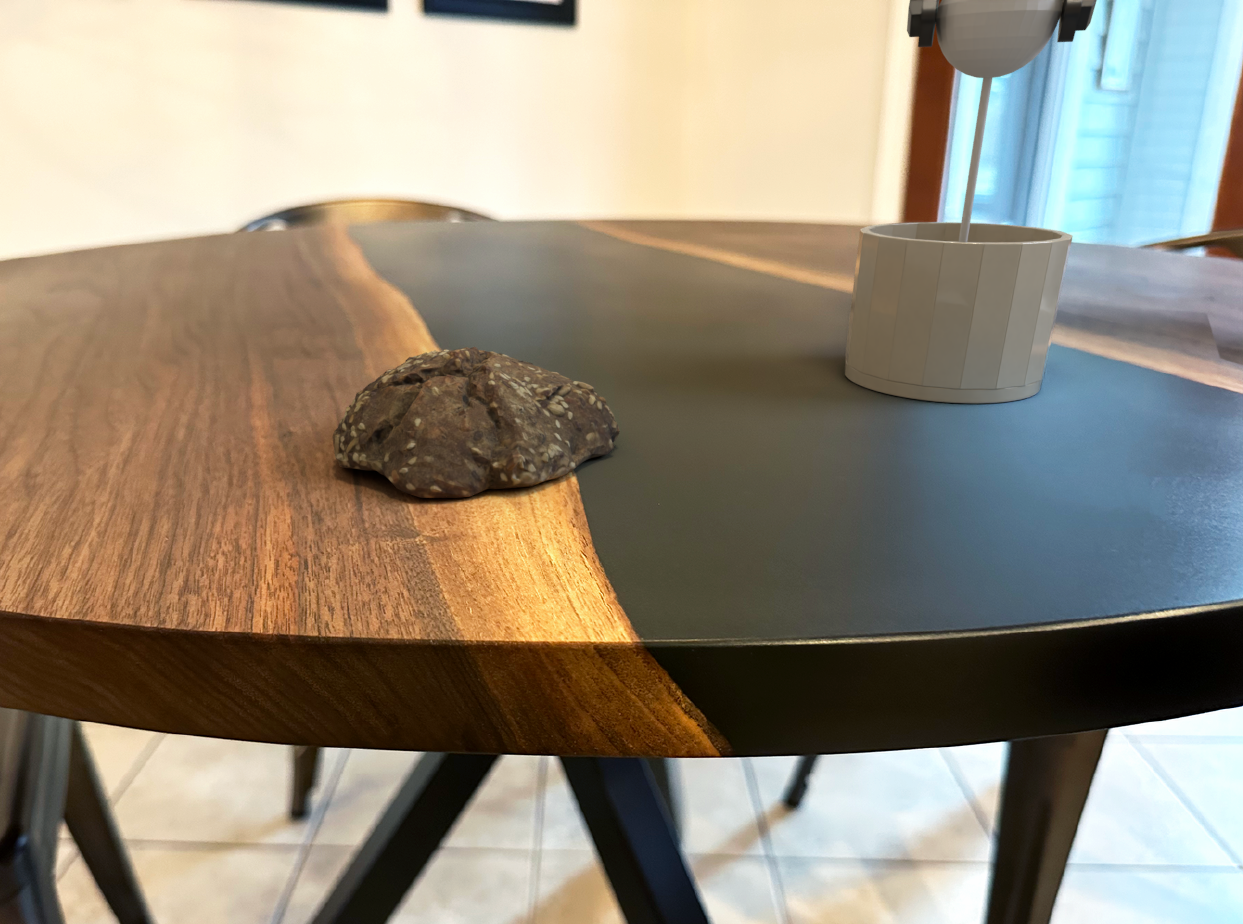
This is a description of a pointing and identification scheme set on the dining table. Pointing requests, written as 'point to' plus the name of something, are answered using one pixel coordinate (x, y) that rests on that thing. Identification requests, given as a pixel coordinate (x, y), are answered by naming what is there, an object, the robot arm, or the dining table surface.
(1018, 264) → the white plant pot
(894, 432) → the dining table surface
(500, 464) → the bread roll
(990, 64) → the lollipop
